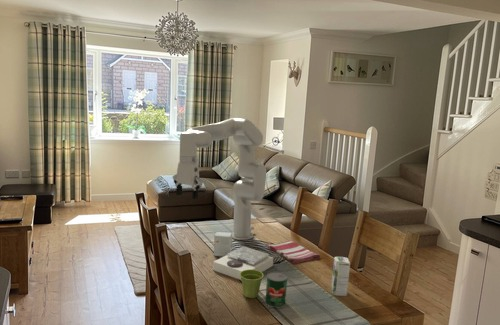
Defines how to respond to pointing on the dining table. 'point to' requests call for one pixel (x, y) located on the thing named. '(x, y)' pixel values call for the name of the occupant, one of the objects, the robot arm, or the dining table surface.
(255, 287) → the plant pot
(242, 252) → the scale pan
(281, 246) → the dish towel
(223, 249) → the small box
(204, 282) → the dining table surface
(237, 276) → the scale
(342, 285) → the syrup box
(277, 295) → the canned tomato
